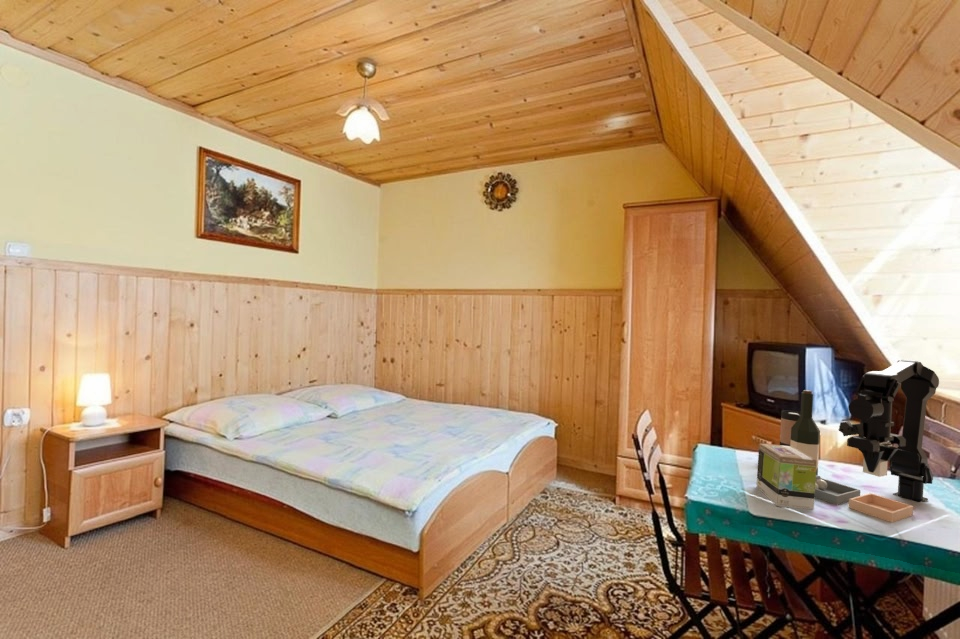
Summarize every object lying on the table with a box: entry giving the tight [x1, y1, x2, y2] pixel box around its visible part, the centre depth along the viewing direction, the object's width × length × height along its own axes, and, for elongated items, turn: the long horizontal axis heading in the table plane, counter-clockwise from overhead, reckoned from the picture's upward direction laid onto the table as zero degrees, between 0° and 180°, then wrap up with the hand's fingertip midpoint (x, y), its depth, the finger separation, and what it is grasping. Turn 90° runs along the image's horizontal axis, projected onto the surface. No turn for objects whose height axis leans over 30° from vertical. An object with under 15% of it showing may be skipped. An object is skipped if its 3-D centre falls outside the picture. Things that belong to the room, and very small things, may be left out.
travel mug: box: [779, 409, 801, 446], centre depth 171 cm, size 8×8×20 cm
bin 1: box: [814, 475, 861, 505], centre depth 147 cm, size 13×22×4 cm, turn 27°
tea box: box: [756, 443, 817, 510], centre depth 139 cm, size 15×10×15 cm, turn 170°
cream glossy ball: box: [815, 479, 827, 490], centre depth 146 cm, size 3×3×3 cm
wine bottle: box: [790, 389, 821, 476], centre depth 159 cm, size 8×8×30 cm
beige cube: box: [862, 457, 889, 478], centre depth 132 cm, size 4×4×4 cm
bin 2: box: [848, 492, 914, 523], centre depth 131 cm, size 12×10×3 cm
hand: (875, 471), depth 132 cm, fingers closed on beige cube, 4 cm apart
